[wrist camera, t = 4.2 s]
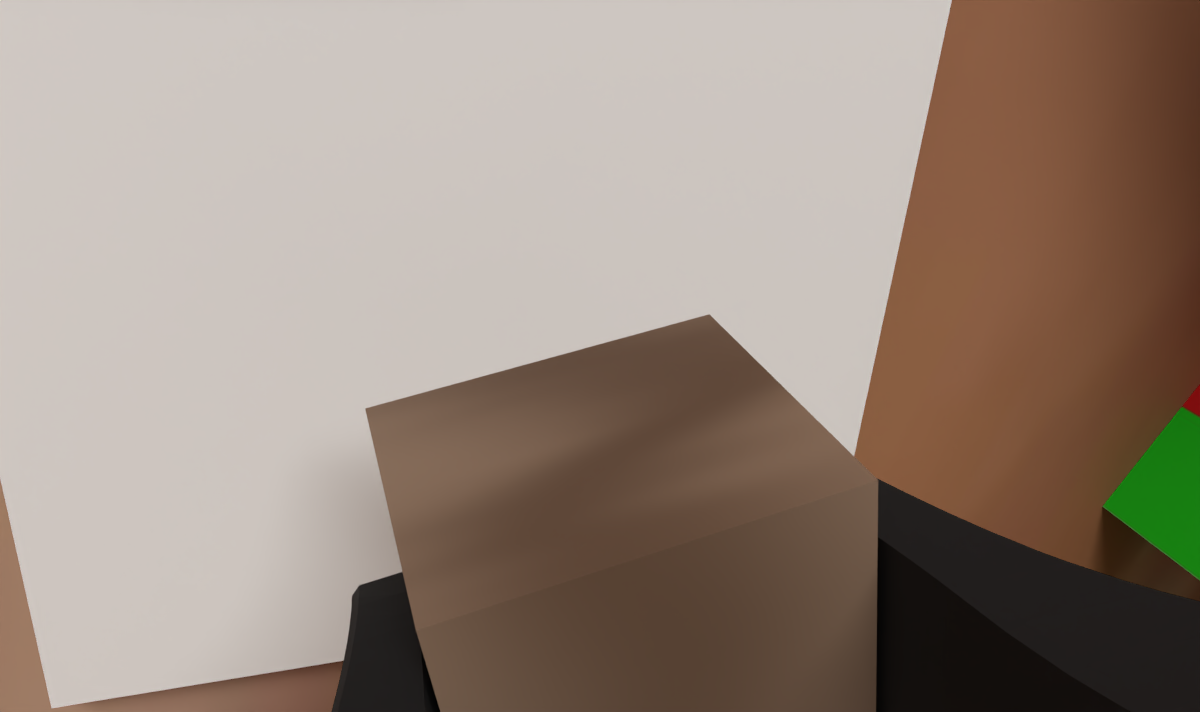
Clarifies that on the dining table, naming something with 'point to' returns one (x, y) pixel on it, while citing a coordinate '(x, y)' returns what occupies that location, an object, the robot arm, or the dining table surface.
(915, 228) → the dining table surface
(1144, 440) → the dining table surface
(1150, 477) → the puzzle toy
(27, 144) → the baseplate
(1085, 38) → the dining table surface
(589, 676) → the walnut block
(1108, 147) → the dining table surface
